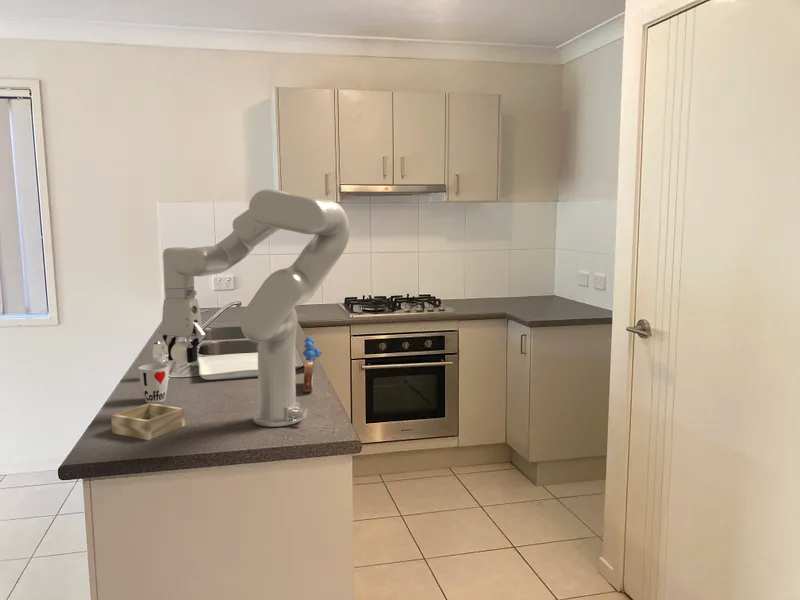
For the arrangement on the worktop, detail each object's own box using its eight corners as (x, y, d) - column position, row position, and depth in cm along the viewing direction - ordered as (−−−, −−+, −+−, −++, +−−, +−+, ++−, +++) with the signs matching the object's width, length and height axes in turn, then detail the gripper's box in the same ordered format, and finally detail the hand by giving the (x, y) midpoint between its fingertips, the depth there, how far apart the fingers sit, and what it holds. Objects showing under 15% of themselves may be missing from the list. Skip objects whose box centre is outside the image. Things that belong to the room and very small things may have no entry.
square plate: (196, 366, 233) (196, 356, 233) (273, 361, 242) (273, 351, 242) (199, 384, 208) (199, 372, 207) (285, 377, 217) (285, 366, 216)
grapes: (322, 373, 221) (322, 338, 220) (302, 374, 220) (301, 339, 219) (322, 365, 233) (321, 332, 231) (303, 366, 232) (302, 333, 230)
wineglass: (174, 376, 216) (173, 341, 215) (169, 381, 211) (167, 344, 209) (157, 377, 216) (155, 341, 215) (151, 381, 210) (149, 344, 209)
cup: (138, 405, 183) (136, 370, 182) (141, 397, 191) (140, 364, 190) (169, 403, 185) (167, 368, 184) (171, 395, 193) (169, 362, 192)
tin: (305, 383, 208) (304, 357, 207) (315, 382, 209) (314, 357, 208) (302, 395, 194) (302, 368, 193) (313, 395, 194) (313, 367, 193)
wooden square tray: (184, 425, 165) (184, 408, 165) (148, 440, 154) (147, 421, 154) (149, 419, 170) (149, 402, 170) (112, 433, 160) (111, 415, 159)
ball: (199, 362, 177) (198, 340, 176) (183, 366, 171) (182, 344, 170) (182, 360, 179) (181, 338, 178) (166, 364, 174) (165, 342, 173)
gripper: (214, 294, 173) (217, 360, 175) (166, 291, 180) (169, 355, 182) (194, 297, 166) (197, 366, 168) (144, 294, 173) (148, 360, 175)
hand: (182, 360), depth 175 cm, fingers closed on ball, 5 cm apart
